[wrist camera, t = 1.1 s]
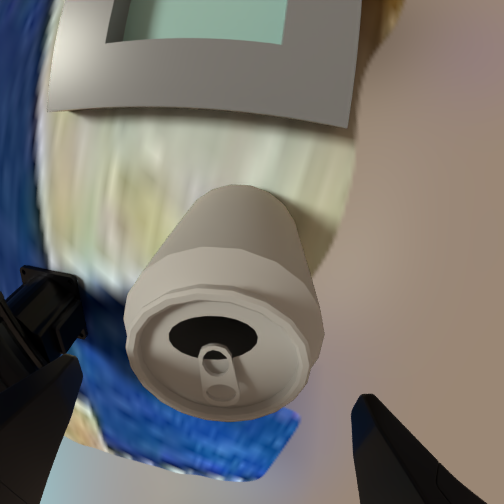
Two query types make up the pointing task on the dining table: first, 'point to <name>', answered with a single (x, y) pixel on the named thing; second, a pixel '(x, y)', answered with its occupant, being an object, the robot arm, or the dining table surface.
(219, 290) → the can
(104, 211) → the dining table surface
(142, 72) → the pocket frame
